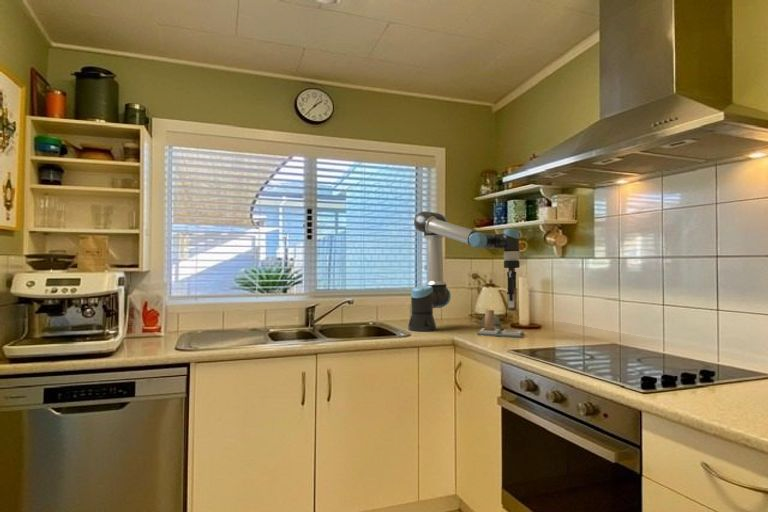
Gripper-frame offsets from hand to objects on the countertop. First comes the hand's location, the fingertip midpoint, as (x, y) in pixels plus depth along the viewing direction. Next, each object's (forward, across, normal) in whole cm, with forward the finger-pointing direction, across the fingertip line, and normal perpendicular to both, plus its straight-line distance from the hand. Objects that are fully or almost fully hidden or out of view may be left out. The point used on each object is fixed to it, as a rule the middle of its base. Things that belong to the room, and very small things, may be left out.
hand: (512, 306), depth 219 cm
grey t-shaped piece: (+14, 0, +6) cm, 15 cm away
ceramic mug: (+14, +18, +13) cm, 27 cm away
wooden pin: (+2, 0, 0) cm, 2 cm away
